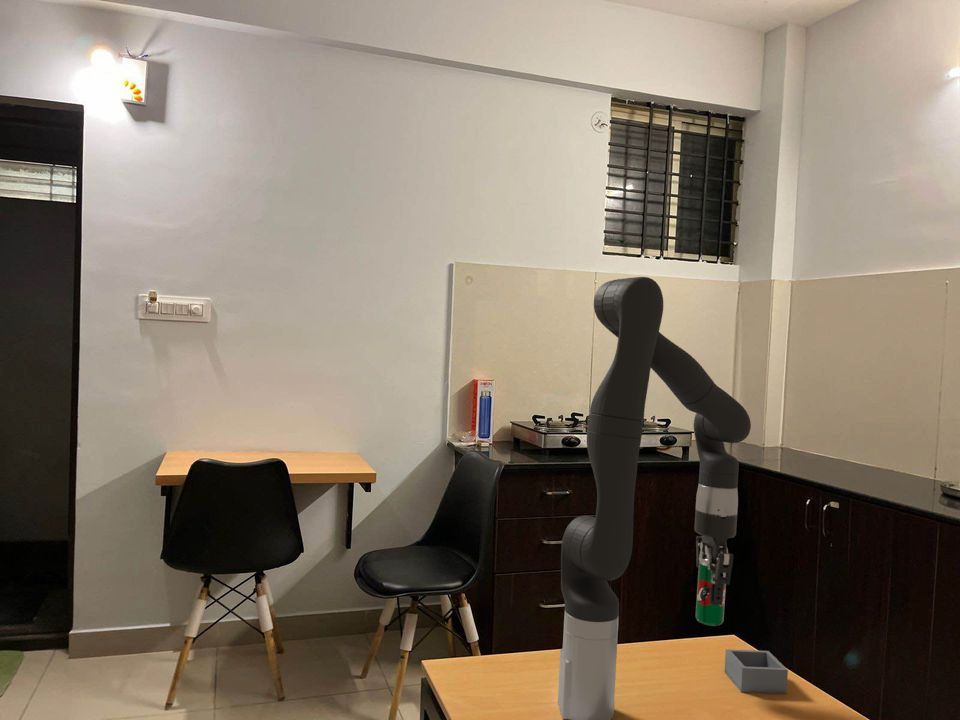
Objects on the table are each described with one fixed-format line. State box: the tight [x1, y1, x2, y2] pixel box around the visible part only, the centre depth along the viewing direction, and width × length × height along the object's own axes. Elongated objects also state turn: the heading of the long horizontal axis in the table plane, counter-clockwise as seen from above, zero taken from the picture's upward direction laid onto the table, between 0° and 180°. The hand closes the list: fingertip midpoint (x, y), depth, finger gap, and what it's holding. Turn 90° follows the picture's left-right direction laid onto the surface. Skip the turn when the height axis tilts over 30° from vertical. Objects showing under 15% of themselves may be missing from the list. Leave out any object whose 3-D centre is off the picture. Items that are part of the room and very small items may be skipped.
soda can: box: [695, 556, 727, 627], centre depth 137 cm, size 5×5×12 cm
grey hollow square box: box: [724, 648, 789, 695], centre depth 140 cm, size 9×9×4 cm
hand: (710, 598), depth 137 cm, fingers closed on soda can, 5 cm apart
